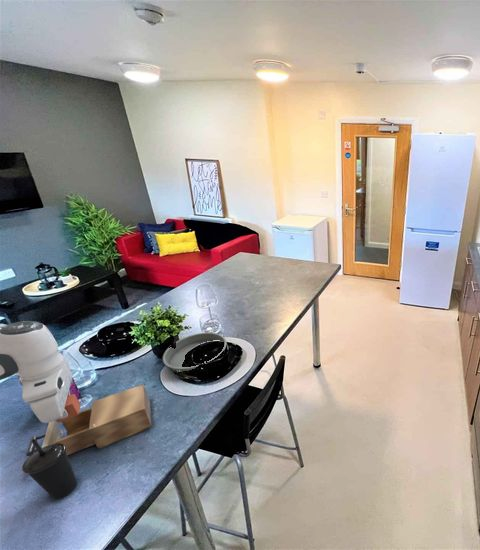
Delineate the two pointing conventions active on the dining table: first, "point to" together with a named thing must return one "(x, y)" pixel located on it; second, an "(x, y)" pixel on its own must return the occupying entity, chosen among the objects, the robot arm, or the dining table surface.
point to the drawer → (75, 437)
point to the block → (71, 406)
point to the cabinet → (120, 416)
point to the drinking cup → (51, 469)
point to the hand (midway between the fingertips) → (66, 409)
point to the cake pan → (177, 355)
